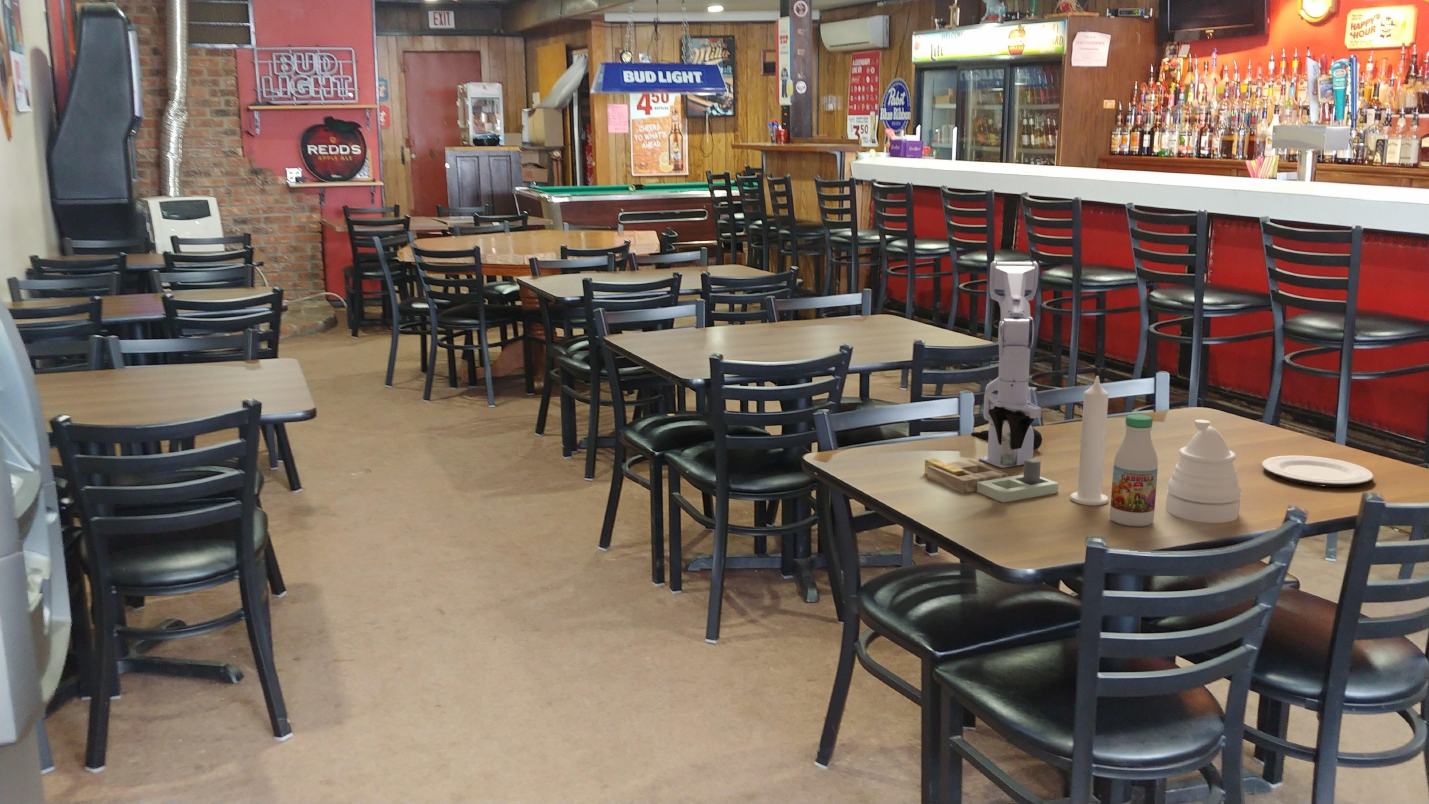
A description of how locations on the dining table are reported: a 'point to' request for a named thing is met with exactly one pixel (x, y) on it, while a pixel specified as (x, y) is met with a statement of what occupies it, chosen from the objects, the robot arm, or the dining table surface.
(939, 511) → the dining table surface
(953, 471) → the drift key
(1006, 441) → the glass jar
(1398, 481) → the dining table surface
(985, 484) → the rack
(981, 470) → the socket block
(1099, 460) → the candle
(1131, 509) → the milk bottle
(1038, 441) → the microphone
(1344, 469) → the plate
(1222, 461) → the honey pot
